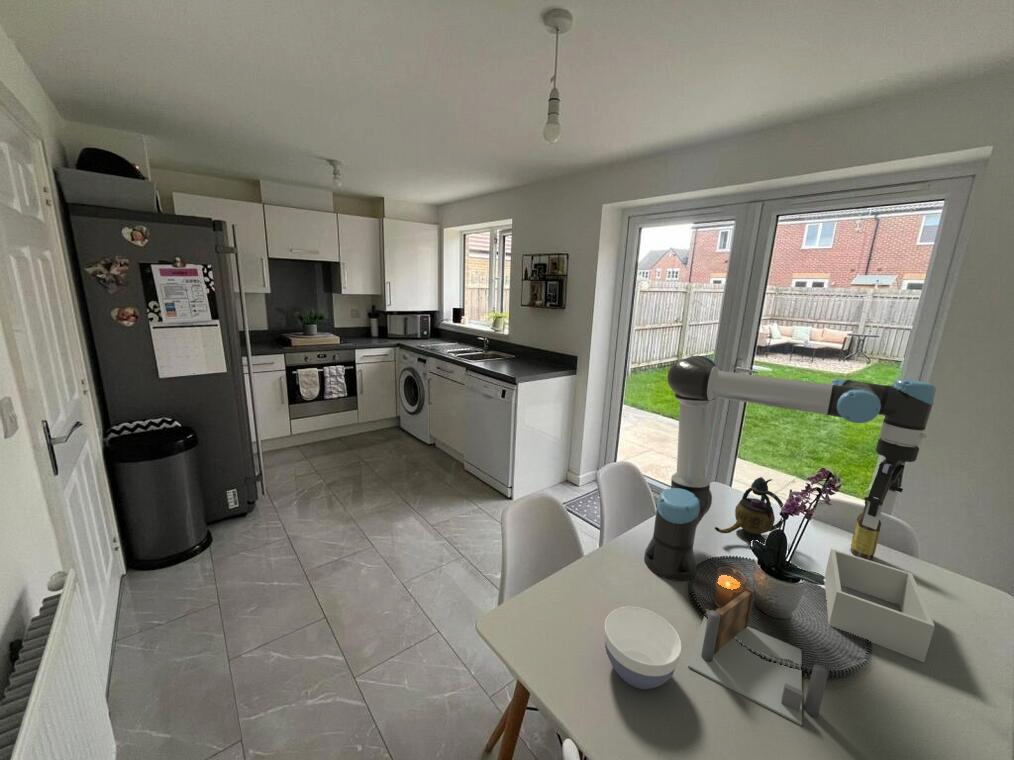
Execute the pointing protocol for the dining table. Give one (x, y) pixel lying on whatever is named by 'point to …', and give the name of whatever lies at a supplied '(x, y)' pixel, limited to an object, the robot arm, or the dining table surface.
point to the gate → (734, 617)
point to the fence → (758, 670)
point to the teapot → (755, 514)
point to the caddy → (872, 620)
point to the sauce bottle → (864, 538)
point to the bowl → (641, 646)
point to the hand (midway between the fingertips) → (876, 519)
